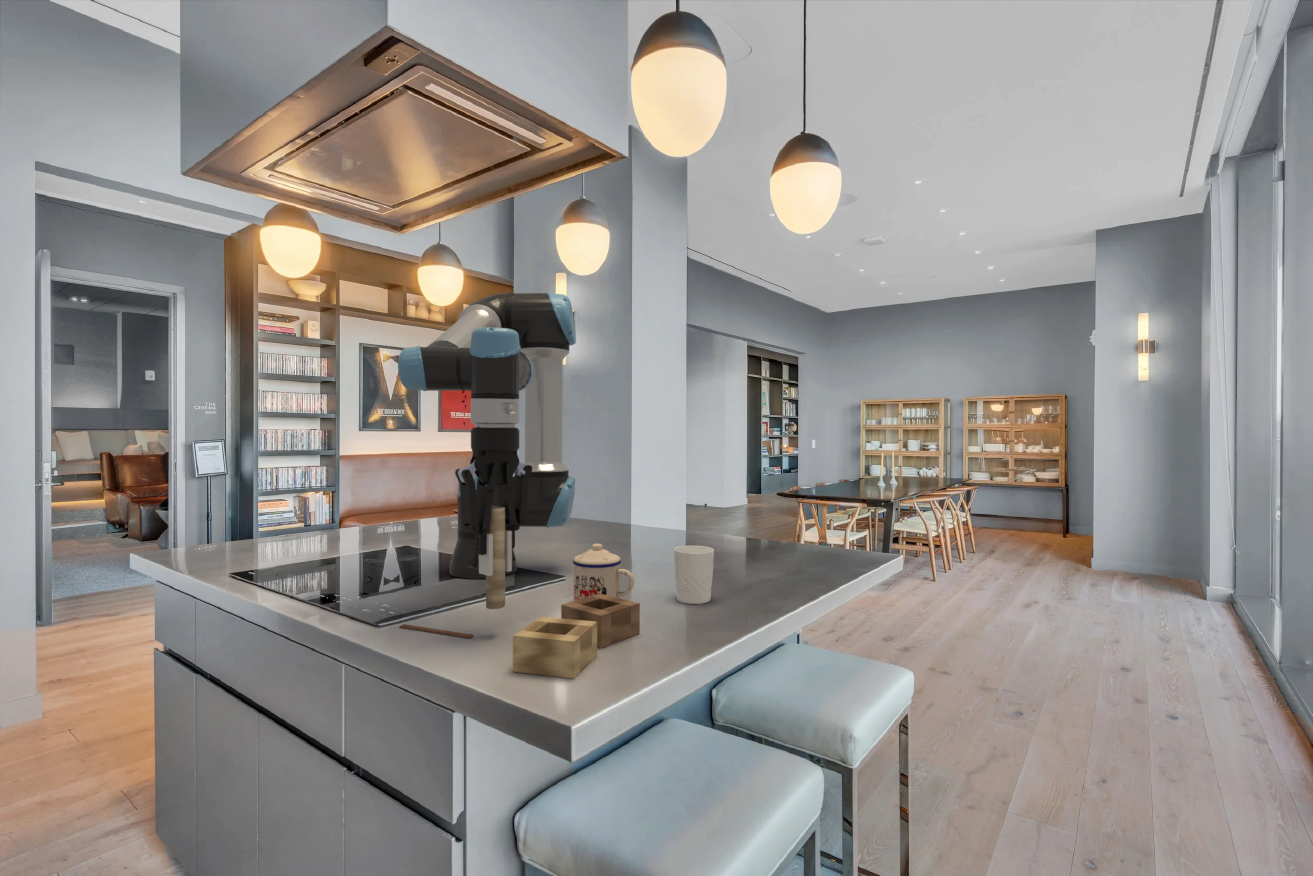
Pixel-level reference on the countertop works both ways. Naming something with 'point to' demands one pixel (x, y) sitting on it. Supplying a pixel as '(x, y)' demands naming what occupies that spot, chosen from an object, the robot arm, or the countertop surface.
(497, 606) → the beige wooden dowel
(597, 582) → the teacup with lid
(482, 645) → the countertop surface
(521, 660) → the light wooden square frame
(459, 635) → the brown wooden stick
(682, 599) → the white cup
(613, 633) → the bead dark
